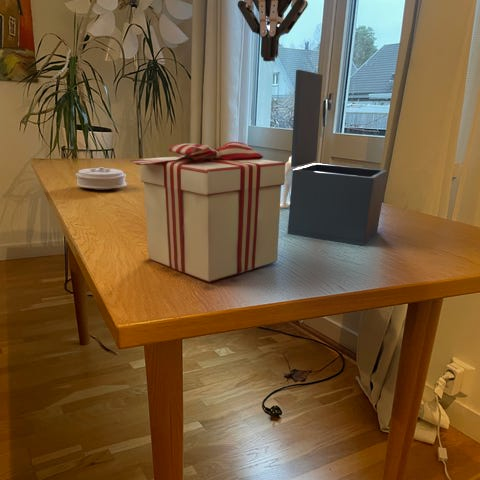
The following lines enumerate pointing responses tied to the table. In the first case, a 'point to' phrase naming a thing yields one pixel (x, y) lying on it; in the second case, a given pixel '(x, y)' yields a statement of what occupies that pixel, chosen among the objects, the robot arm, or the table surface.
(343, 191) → the chest
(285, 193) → the figurine
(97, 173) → the lid
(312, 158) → the chest lid
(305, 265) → the table surface
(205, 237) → the gift box
